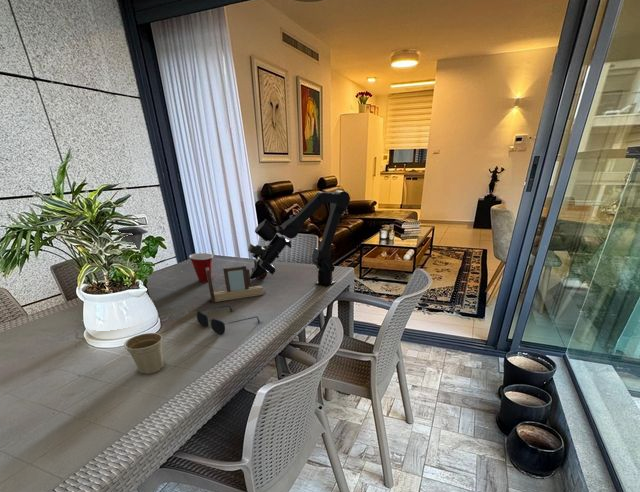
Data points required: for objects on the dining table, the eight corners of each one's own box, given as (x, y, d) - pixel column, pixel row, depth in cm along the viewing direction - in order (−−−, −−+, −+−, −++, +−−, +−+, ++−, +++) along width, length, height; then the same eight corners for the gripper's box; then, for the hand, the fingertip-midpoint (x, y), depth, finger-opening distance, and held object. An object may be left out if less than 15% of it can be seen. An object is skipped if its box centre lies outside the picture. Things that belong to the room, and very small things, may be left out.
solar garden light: (170, 300, 145) (152, 224, 131) (159, 312, 134) (138, 230, 120) (141, 301, 145) (119, 225, 130) (127, 313, 134) (102, 231, 120)
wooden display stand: (261, 291, 152) (257, 261, 146) (263, 294, 148) (260, 264, 142) (211, 298, 146) (205, 267, 139) (212, 302, 141) (206, 270, 135)
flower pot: (146, 381, 91) (137, 352, 87) (125, 371, 96) (116, 344, 92) (176, 365, 98) (169, 337, 94) (155, 356, 103) (148, 330, 99)
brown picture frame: (250, 290, 149) (247, 265, 144) (252, 292, 147) (248, 266, 142) (227, 294, 146) (222, 268, 141) (227, 296, 144) (223, 269, 139)
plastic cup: (214, 283, 164) (209, 257, 158) (191, 283, 164) (185, 258, 158) (220, 276, 173) (216, 252, 168) (198, 277, 173) (193, 252, 168)
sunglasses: (196, 323, 123) (195, 309, 121) (231, 315, 133) (231, 303, 132) (224, 337, 113) (223, 322, 111) (260, 328, 123) (260, 314, 121)
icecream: (264, 270, 158) (272, 264, 171) (248, 266, 158) (257, 260, 171) (262, 284, 161) (269, 277, 174) (246, 280, 161) (255, 274, 174)
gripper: (254, 232, 147) (231, 261, 149) (264, 240, 132) (238, 272, 133) (274, 249, 153) (251, 277, 155) (286, 258, 138) (261, 289, 139)
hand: (250, 278), depth 145 cm, fingers closed, pressing on brown picture frame
